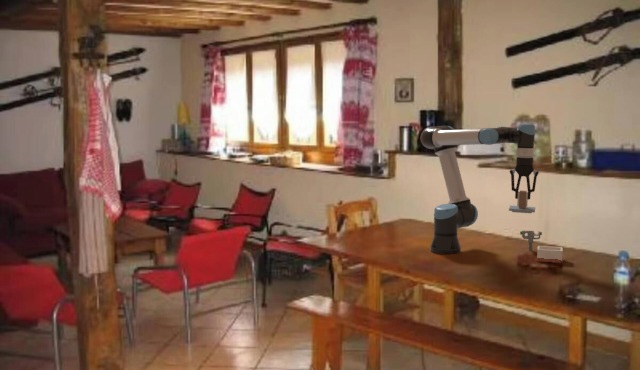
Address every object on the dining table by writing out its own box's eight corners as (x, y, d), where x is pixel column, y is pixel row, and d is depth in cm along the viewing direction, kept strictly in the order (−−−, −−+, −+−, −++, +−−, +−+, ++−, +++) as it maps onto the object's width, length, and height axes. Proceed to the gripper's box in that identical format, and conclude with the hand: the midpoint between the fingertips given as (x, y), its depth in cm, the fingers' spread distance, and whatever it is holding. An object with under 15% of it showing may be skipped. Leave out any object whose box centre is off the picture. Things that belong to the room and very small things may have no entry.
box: (536, 261, 301) (537, 249, 300) (537, 258, 308) (538, 245, 308) (561, 263, 297) (562, 251, 296) (562, 259, 304) (562, 247, 304)
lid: (508, 212, 303) (509, 191, 302) (510, 209, 311) (511, 189, 310) (534, 214, 299) (535, 193, 298) (535, 210, 307) (536, 190, 306)
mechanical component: (541, 251, 321) (542, 232, 320) (520, 251, 323) (520, 231, 322) (540, 250, 324) (541, 230, 322) (519, 249, 326) (520, 230, 324)
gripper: (506, 156, 301) (504, 206, 304) (542, 158, 295) (539, 208, 299) (507, 155, 308) (505, 203, 311) (543, 156, 302) (540, 205, 306)
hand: (522, 205), depth 305 cm, fingers closed on lid, 3 cm apart
